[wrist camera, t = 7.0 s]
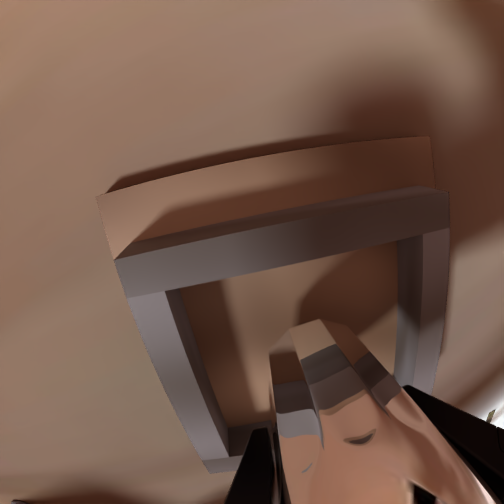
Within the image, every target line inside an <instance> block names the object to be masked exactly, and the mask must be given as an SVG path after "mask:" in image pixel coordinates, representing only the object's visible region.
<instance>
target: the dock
mask: <svg viewBox="0 0 504 504" xmlns="http://www.w3.org/2000/svg"><path fill="white" fill-rule="evenodd" d="M96 199H97V203H98V207H99V211H100V215H101V219H102V222H103V226H104V229H105V233H106V236H107V240H108V243H109V247H110V250H111V253H112V256H113V259H114V263H115V266H116V269H117V272H118V275H119V278H120V281H121V284H122V287H123V290H124V292H125V295H126V298H127V301H128V304H129V306H130V309H131V312H132V314H133V317H134V319H135V322H136V325H137V327H138V330H139V332H140V335H141V337H142V340H143V342H144V344H145V347H146V349H147V352H148V354H149V356H150V359H151V361H152V363H153V365H154V368H155V370H156V372H157V374H158V377H159V379H160V381H161V383H162V385H163V387H164V390H165V392H166V394H167V396H168V398H169V400H170V402H171V404H172V406H173V408H174V410H175V412H176V414H177V416H178V418H179V420H180V422H181V424H182V426H183V427H184V429H185V431H186V433H187V435H188V437H189V439H190V440H191V442H192V444H193V446H194V448H195V449H196V451H197V453H198V455H199V456H200V458H201V460H202V462H203V463H204V465H205V467H206V468H207V470H208V472H209V473H220V472H229V471H236V470H237V469H238V467H239V464H240V461H241V459H242V456H243V453H244V451H245V448H246V445H247V443H248V440H249V437H250V435H251V432H252V430H253V429H255V428H260V427H267V428H268V431H269V435H270V439H271V442H272V446H273V451H274V444H273V434H272V424H271V413H270V403H269V392H268V382H267V370H268V353H269V350H270V349H271V348H272V347H273V346H274V345H275V343H276V342H277V341H278V340H279V339H280V338H281V337H282V336H283V335H284V333H285V332H286V331H287V330H288V329H289V328H292V327H295V326H298V325H301V324H304V323H307V322H310V321H313V320H316V319H319V318H320V319H324V320H328V321H332V322H336V323H340V324H344V325H347V326H348V327H349V328H350V329H351V330H352V332H353V333H354V334H355V335H356V336H357V337H358V338H359V339H360V340H361V342H362V343H363V344H364V345H365V346H366V347H367V348H368V349H369V351H370V352H371V353H372V354H373V355H374V356H375V357H376V358H377V360H378V361H379V362H380V363H381V364H382V365H383V366H384V367H385V369H386V370H387V371H388V372H389V373H390V374H391V375H392V377H393V378H394V379H395V380H396V381H397V382H398V383H399V385H400V386H401V387H402V386H404V385H411V386H413V387H415V388H417V389H419V390H421V391H423V392H425V393H427V394H429V395H431V394H432V390H433V385H434V380H435V376H436V371H437V365H438V360H439V354H440V348H441V342H442V335H443V328H444V320H445V312H446V302H447V291H448V277H449V256H450V209H449V192H447V191H442V190H438V189H435V176H434V166H433V156H432V148H431V140H430V136H416V137H403V138H390V139H379V140H369V141H360V142H351V143H343V144H335V145H328V146H320V147H313V148H306V149H300V150H294V151H287V152H281V153H275V154H270V155H264V156H259V157H253V158H248V159H243V160H238V161H233V162H228V163H223V164H218V165H214V166H209V167H205V168H200V169H196V170H192V171H187V172H183V173H179V174H175V175H171V176H167V177H163V178H159V179H155V180H151V181H148V182H144V183H140V184H137V185H133V186H129V187H126V188H122V189H119V190H115V191H112V192H109V193H105V194H102V195H100V196H97V197H96ZM274 456H275V455H274Z"/></svg>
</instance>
